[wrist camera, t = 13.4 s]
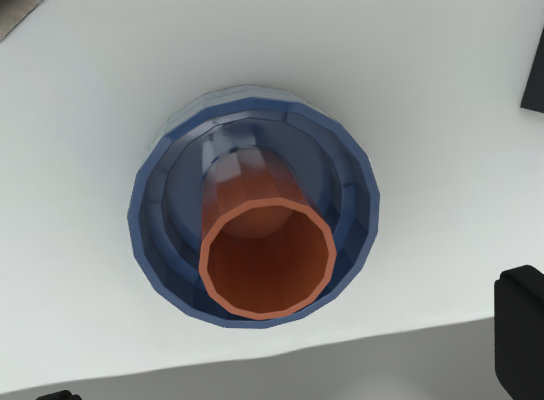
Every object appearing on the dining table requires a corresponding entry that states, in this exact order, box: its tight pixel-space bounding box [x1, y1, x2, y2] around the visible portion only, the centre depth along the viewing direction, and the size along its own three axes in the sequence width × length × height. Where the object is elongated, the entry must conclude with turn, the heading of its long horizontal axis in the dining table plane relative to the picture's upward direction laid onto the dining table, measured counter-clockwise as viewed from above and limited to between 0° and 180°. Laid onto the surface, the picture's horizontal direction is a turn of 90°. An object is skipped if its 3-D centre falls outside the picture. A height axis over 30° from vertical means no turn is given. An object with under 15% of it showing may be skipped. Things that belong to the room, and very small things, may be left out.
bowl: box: [127, 85, 380, 329], centre depth 27 cm, size 14×14×6 cm
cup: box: [198, 148, 337, 320], centre depth 25 cm, size 7×7×9 cm
